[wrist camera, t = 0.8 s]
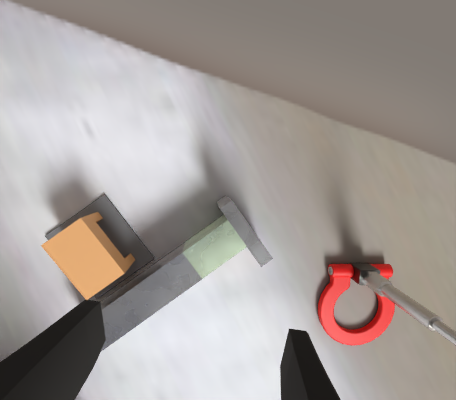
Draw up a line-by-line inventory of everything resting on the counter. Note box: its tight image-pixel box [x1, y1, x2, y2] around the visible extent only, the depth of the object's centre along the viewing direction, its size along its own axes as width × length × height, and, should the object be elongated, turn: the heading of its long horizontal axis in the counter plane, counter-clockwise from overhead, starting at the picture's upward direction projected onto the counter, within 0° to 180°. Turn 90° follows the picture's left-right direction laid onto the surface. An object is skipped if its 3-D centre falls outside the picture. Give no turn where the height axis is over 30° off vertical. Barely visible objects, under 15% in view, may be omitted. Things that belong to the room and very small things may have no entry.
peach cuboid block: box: [41, 212, 135, 300], centre depth 26 cm, size 4×6×4 cm, turn 35°
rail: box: [101, 196, 273, 351], centre depth 26 cm, size 19×6×6 cm, turn 125°
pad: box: [45, 194, 154, 299], centre depth 28 cm, size 7×8×1 cm
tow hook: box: [318, 263, 456, 345], centre depth 25 cm, size 8×13×9 cm
